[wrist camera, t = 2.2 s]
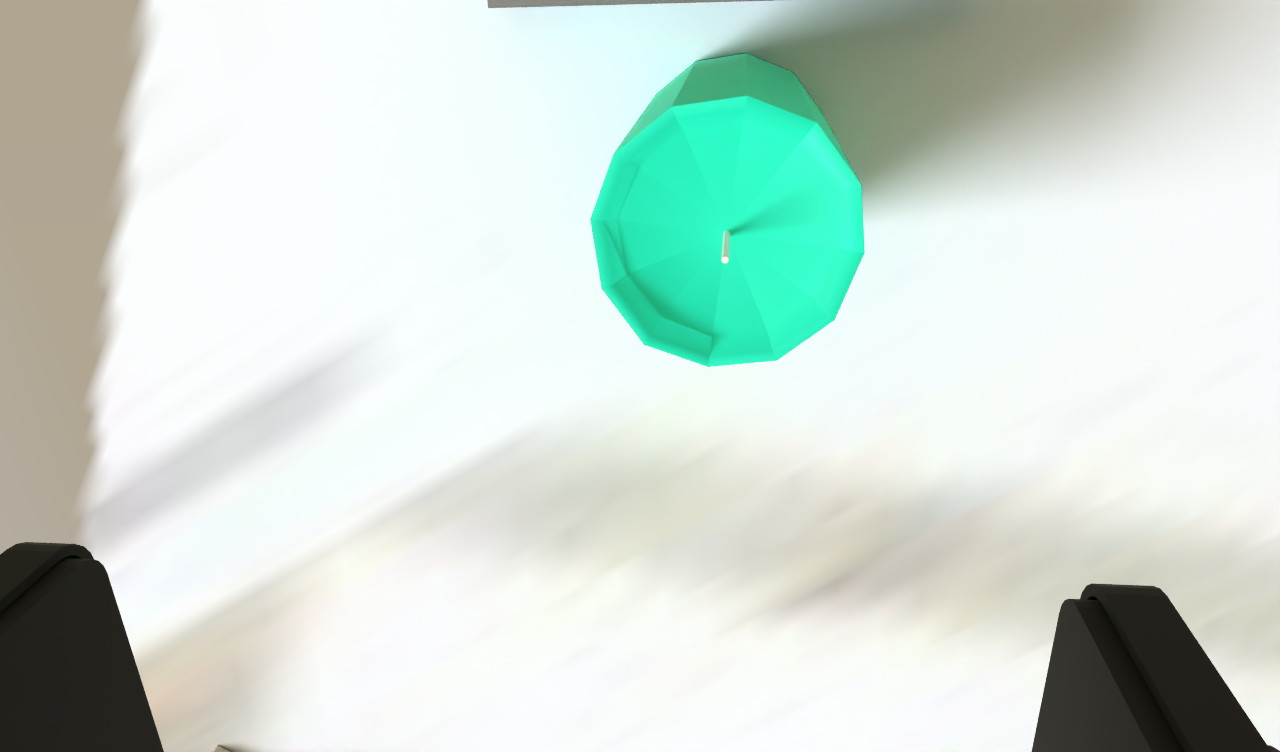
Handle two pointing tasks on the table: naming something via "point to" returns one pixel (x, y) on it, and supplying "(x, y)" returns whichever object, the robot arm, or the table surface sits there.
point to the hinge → (220, 749)
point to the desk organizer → (588, 2)
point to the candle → (729, 216)
